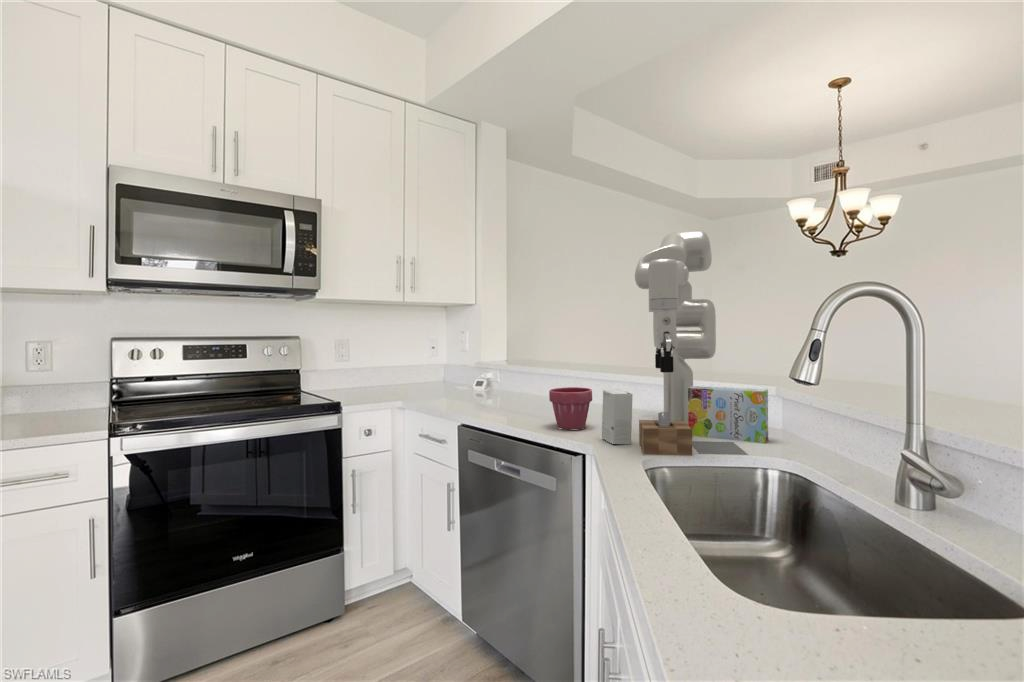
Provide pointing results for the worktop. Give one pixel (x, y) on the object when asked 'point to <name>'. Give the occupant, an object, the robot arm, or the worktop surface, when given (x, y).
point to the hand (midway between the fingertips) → (664, 370)
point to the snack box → (728, 413)
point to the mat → (717, 448)
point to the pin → (663, 419)
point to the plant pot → (571, 406)
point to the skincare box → (617, 416)
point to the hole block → (665, 438)
